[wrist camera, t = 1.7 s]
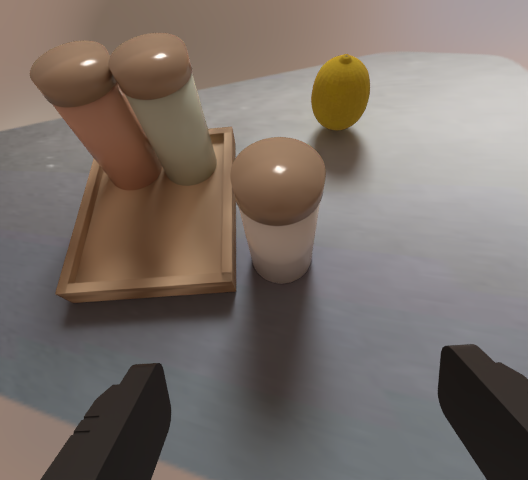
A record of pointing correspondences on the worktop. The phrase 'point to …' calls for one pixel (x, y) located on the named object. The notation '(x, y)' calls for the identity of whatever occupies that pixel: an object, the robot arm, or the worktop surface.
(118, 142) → the terracotta jar
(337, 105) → the lemon
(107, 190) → the tray
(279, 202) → the white jar
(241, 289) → the worktop surface
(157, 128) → the sage jar
